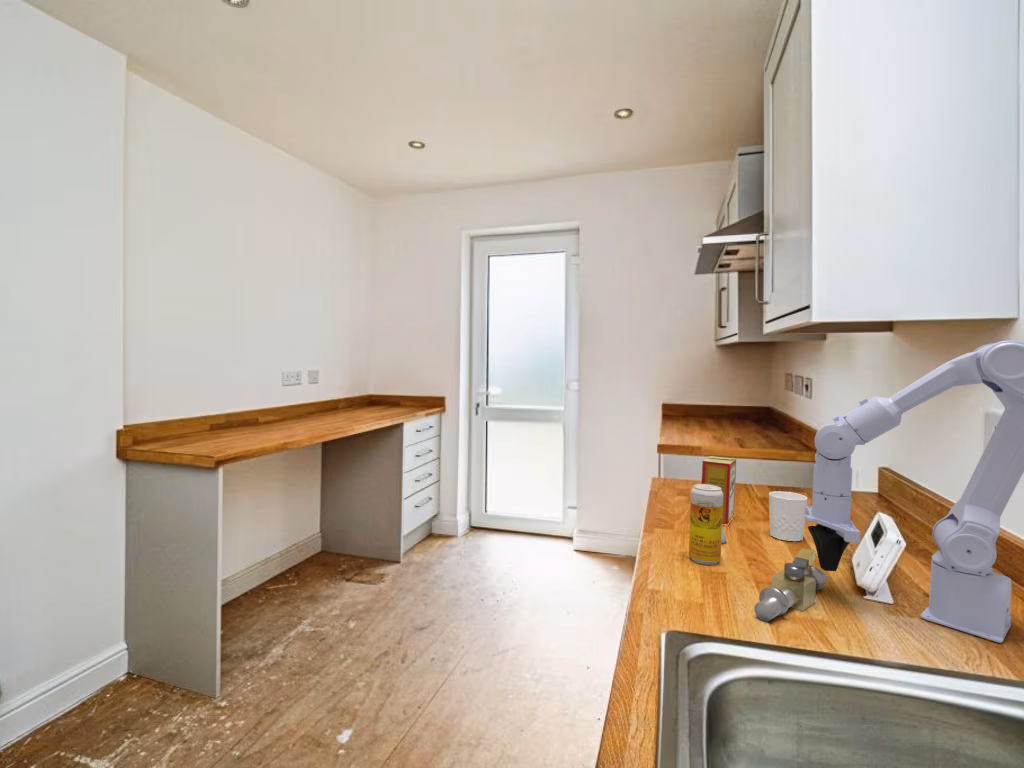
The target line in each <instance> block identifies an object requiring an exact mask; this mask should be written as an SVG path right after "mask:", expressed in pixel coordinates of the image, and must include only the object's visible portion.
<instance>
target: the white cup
mask: <svg viewBox="0 0 1024 768" xmlns="http://www.w3.org/2000/svg"><path fill="white" fill-rule="evenodd" d="M805 506H808V497H807V496H806V495H803V494H800V493H796V492H791V491H780V490H779V491H770V492H769V493H768V510H769V511H768V517H769V536H770V535H772V536H773V537H776V538H778V539H782V540H787V541H800V540H802V541H803V540H804V539H803V537H804V529H805V525H806V519H805ZM773 537H772V538H773Z"/></svg>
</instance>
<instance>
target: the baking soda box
mask: <svg viewBox="0 0 1024 768" xmlns="http://www.w3.org/2000/svg"><path fill="white" fill-rule="evenodd" d="M701 467H702V468H701V469H702V470H701V484H709V485H715V486H718V487H720V488H721V490H722V493H723V513H722V524H728V523H729V521H730V520H731V518H732V517H733V515H734V516H735V503H736V502H735V498H736V497H735V496H736V475H737V458H733V457H723V456H722V457H721V456H713V455H710V456H708V457H706V458H705V459H703V460H702V466H701Z"/></svg>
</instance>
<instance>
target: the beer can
mask: <svg viewBox="0 0 1024 768" xmlns="http://www.w3.org/2000/svg"><path fill="white" fill-rule="evenodd" d="M722 513H723V493H722V490H721V488H720V487H718V486H715V485H709V484H702V483H696V484H693V486H692V489H691V490H690V511H689V536H688V537H689V540H688V541H689V542H688V556H689V557H690V559H691V560H692V561H693V562H695V563H697V564H700V565H706V566H712V565H717V564H718V562H720V560H722V559H721V557H722V543H721V537H722Z"/></svg>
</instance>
